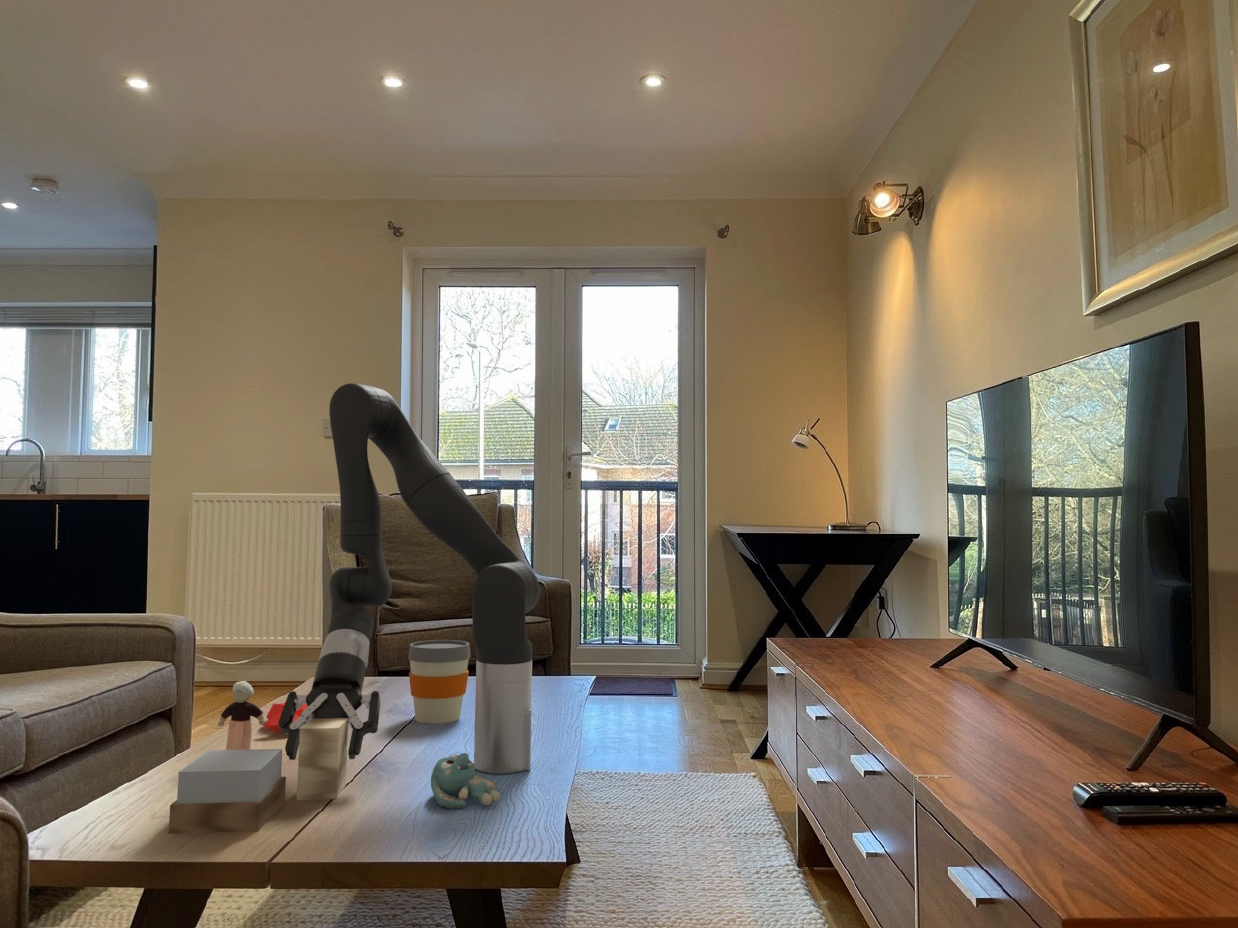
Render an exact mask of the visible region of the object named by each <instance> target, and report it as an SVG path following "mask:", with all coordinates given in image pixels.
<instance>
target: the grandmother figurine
mask: <svg viewBox="0 0 1238 928" xmlns="http://www.w3.org/2000/svg"><path fill="white" fill-rule="evenodd" d="M232 693H233V700H234V701H233V702H231V703H230V704H229V705H227V706H226V707H225V709H224V710H223V711H222V713H221V715H220V717H219V721H218V722H217V726H218V727H223V726H224V725H225V722H226V721H227V720H228V719H229V717H230V720H229V723H228V729H227V738H226V747H225V750H247V749H251V742H252V719H251V717H252V718H255V719H257V720H258V723H259V725H261V726H263V725H264V724H265V722H266V721H267V720H266V719H264V718H265V716H264V714H263V713H264V711H263V710H261V709H260V707H258V706H257V705H256V704H254V703H252V702H250V701H249V699H250V697H251V696H252V695H254V693H255V691H254V688H253V687H252V685H251V683H249V682H247V681H246V680H242V681H237V682H235V683H234V684H233V686H232Z"/></svg>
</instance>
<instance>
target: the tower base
mask: <svg viewBox="0 0 1238 928" xmlns="http://www.w3.org/2000/svg"><path fill="white" fill-rule="evenodd" d="M286 783H287V776H281V778H280V779H279V780H278V781H277V782H276V783H275V785H274V786H273V787H272V788H271V789H270V790H269V791H268V792H267V793H266V794H265V795H264V796H263V798H262V799H261V800H260V801H259V802H229V803H192V804H177V799H176V800H175V801H174V802H172V803H171V804H170V805H169V818H168V819H169V820H168V834H199V833H206V834H207V833H233V832H234V833H235V832H236V833H237V832H239V833H240V832H242V833H243V832H259V831H260V830H261V829H262V828H263V827H264V826H265V824H266V823H267V822H268V821H269V820H270V819H271V818H272V817H273V816H274V815H275V814H276V812H278V810H280V808H281V807H283V805H284V804H285V802H286V786H287V784H286Z"/></svg>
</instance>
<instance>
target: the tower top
mask: <svg viewBox="0 0 1238 928" xmlns="http://www.w3.org/2000/svg"><path fill="white" fill-rule="evenodd" d="M282 765H283V748H263V749H262V748H261V749H259V748H258V749H257V748H256V749H255V748H254V749H251V748H250V749H247V750H226V749H208V750H207V751H205V752H204V753H202V754H201V755H200V756H198V757H197V758H196V759H194V760H193V761H191V762H190V763H189V764H187V765H186V766H185V767H183V768H182V769H181V770H179V771H178V776H177V777H178V778H177V780H178V781H177V794H176V795H177V796H176V797H177V799H176V800H177V804H192V803H229V802H259V801H260V800H261V799H262V798H263V796H264V795H265V794H266V793H267V792H268V791H269V790H270V789H271V788H272V787H273V786H274V785H275V783H276V782H277V781H278V780H279V779H280V778H281V777H282Z"/></svg>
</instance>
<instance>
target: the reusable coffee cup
mask: <svg viewBox="0 0 1238 928" xmlns="http://www.w3.org/2000/svg"><path fill="white" fill-rule="evenodd" d="M408 650H409V651H408V657H407V659H408V660H409V666H410V670H409V672H408V675H409V676H408V677H409V688H410V695H411V696H412V698H413V700H412V701H413V707H414V719H415V721H416V722H418V723H423V724H434V725H436V724H438V725H439V724H448V723H453V722H455V721H459V719H460V718H461V714H462V711H461V710H462V705H463V700H464V699H463V698H464V695H465V694H466V693H467V686H468V678H469V670H468V666H469V659H470V658H471V647H470V642H467V641H463V640H458V639H457V640H456V639H455V640H454V639H432V640H431V639H430V640H429V639H428V640H422V641H421V640H420V641H416V642H411V643H410V644H409V649H408Z"/></svg>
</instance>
